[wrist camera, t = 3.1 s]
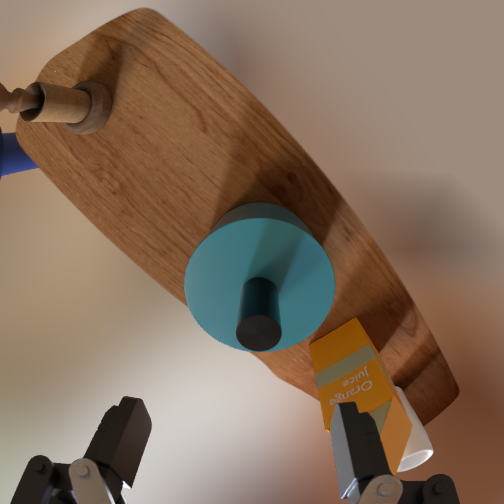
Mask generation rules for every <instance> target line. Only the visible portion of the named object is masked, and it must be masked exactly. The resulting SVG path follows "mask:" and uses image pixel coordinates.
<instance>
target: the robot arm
mask: <svg viewBox="0 0 504 504" xmlns="http://www.w3.org/2000/svg"><path fill="white" fill-rule="evenodd" d="M151 426H152V423H151V418H150V416H149V414H148V412H147V409H146V407H145V405H144V403H143V400H142V399H140V398H134V397H128V396H124V397H123V398H122V400H121V402H120V404H119V406H115V405H114V406H112V407H111V408H110V409H109V410H108V411H107V412H106V413H105V415H104V417H103V419H102V420H101V423H100V425H99V426H98V430H97V431H96V433H95V435H94V437H93V439H92V441H91V443H90V445H89V447H88V449H87V451H86V453H85V455H84V457H83V458H81V459H77V460H75V461H74V462H73V463H72V464H61V463H52V462H51V461H50V460H49V459H48V458H47V457H45V456H43V455H38V456H34V457H33V458H31V460H30V461H29V462H28V465H27V467H26V469H25V471H24V473H23V475H22V478H21V480H20V482H19V484H18V487H17V489H16V491H15V494H14V496H13V498H12V501H11V503H10V504H128V503H127V501H126V499H125V496H124V495H123V492H122V491H121V490H122V487H123V486H124V487H127V488H132V485H133V482H134V479H135V476H136V473H137V470H138V467H139V464H140V461H141V458H142V455H143V452H144V450H145V446H146V444H147V441H148V438H149V435H150V432H151V428H152V427H151ZM330 435H331V441H332V447H333V453H334V459H335V465H336V471H337V478H338V484H339V491H340V498H341V499H347V498H348V499H349V504H460V502H459V499H458V495H457V492H456V488H455V485H454V482H453V480H452V479H451V478H450V477H449V476H447V475H444V474H437V475H434V476H432V477H430V478H429V479H428V480H427V481H403V480H400V479H398V478H396V477H395V476H394V475H393V474H392V473H391V471H390V468H389V465H388V461H387V458H386V455H385V451H384V448H383V445H382V441H381V438H380V435H379V433H378V428H377V425H376V422H375V420H374V419H373V418H372V416H371V415H370V414H369V413H368V412H362V413H359V411H358V408H357V405H356V402H355V401H351V402H343V403H337V404H336V406H335V410H334V414H333V417H332V421H331V426H330Z"/></svg>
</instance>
